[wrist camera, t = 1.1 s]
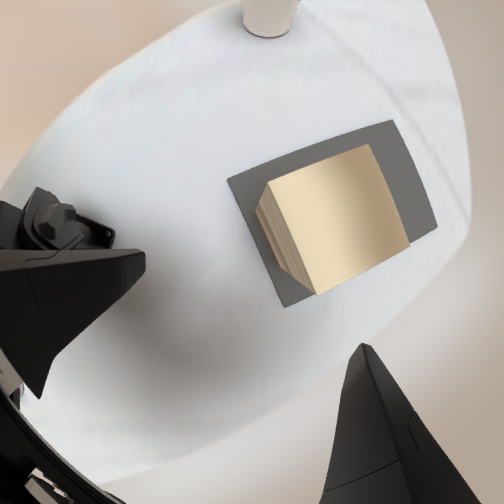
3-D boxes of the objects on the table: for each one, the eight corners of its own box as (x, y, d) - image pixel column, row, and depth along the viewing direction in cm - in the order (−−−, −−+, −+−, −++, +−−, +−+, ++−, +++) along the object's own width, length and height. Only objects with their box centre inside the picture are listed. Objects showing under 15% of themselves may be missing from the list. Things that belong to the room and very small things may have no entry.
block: (279, 266, 23) (317, 295, 11) (254, 211, 23) (267, 182, 11) (331, 242, 23) (410, 246, 11) (308, 188, 23) (368, 143, 11)
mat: (283, 306, 24) (284, 308, 23) (227, 180, 23) (226, 178, 22) (435, 227, 24) (437, 226, 23) (390, 121, 23) (392, 119, 23)
